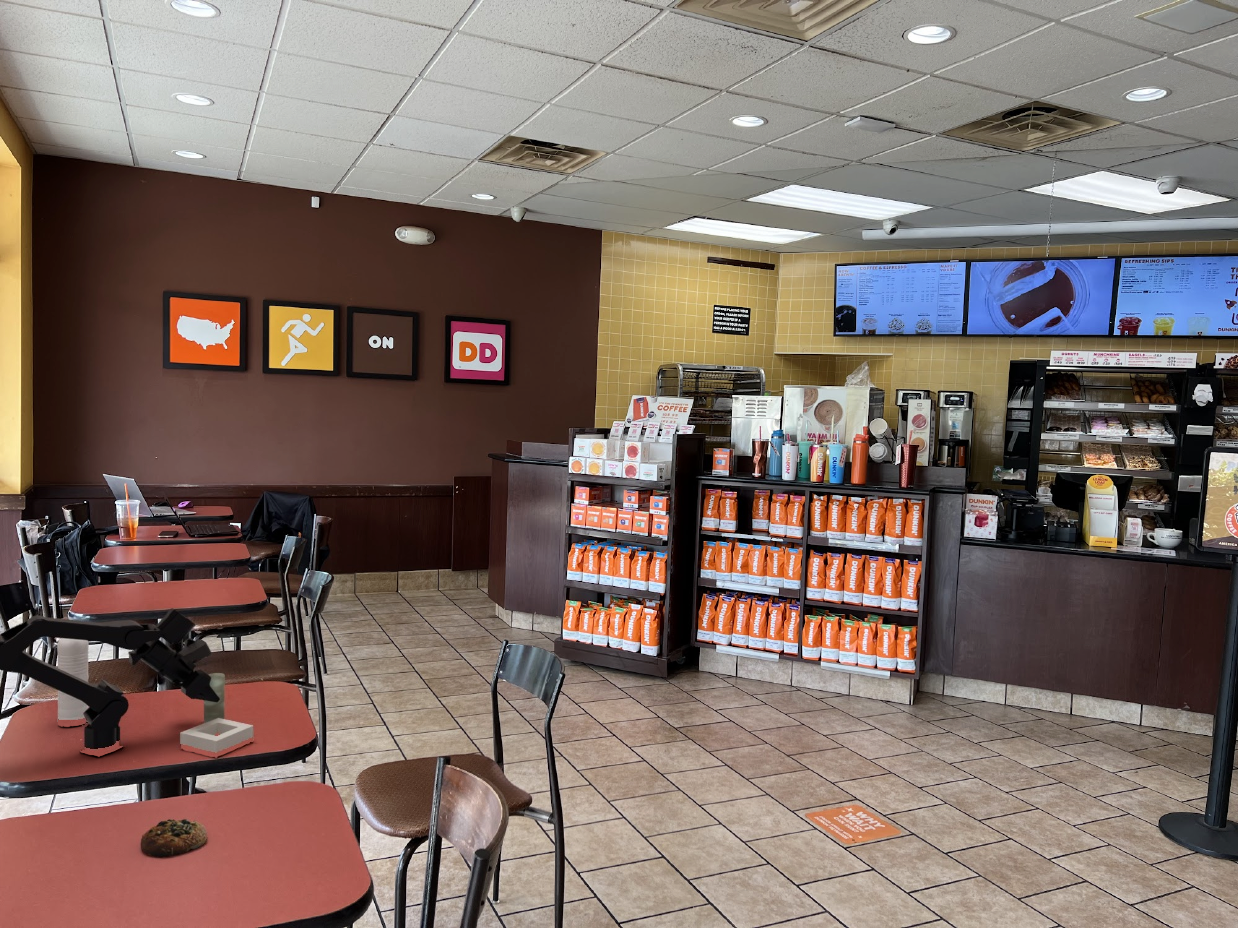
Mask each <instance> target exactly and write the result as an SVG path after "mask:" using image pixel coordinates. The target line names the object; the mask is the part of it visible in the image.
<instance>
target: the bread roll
mask: <svg viewBox="0 0 1238 928" xmlns="http://www.w3.org/2000/svg"><path fill="white" fill-rule="evenodd" d="M207 834H208V832H207V829H206V827H205V826H204V825H203V824H202V823H200V822H198V821H197V820H193V821H190V820H189V819H186V818H183V819H181V820H176V819H174V818H173V819H171V818H170V819H169V818H168V819H167V820H166V819H165V820H161V821H158V823H157V824H156V825H154V826H152V827H150V829H148V830H147V831H146V832H145V833H143V834H142V835H141V839H140V848H141V850H142V851H143V852H144V853H145V854H146V855H147V856H151V857H155V858H160V859H161V858H169V857H171V856H173V857H174V856H175V857H176V856H179V855H182V854H185V853H188V852H190V850H191V849H192V850H194V849H197V848H198V849H199V848H200V847H202V846H203V845H205V844H206V841H207V840H208V839H207V837H208V835H207Z"/></svg>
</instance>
